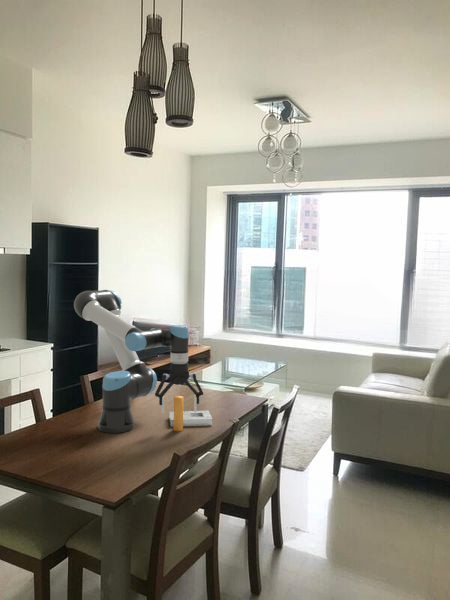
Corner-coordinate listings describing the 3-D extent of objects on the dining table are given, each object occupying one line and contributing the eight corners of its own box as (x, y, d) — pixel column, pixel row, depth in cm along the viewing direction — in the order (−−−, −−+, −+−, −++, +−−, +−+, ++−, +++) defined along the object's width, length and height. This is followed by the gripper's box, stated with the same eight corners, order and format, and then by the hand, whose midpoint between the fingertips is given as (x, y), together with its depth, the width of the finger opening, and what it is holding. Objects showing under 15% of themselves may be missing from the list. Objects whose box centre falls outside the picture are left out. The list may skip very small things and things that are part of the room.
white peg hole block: (170, 426, 206) (170, 419, 206) (169, 417, 218) (169, 411, 218) (212, 425, 209) (212, 418, 209) (208, 416, 221) (208, 410, 221)
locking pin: (173, 431, 200) (174, 398, 199) (173, 428, 204) (173, 396, 203) (183, 431, 201) (183, 398, 200) (182, 427, 205) (183, 395, 204)
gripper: (149, 364, 195) (149, 415, 196) (210, 363, 199) (209, 413, 200) (149, 361, 202) (149, 410, 204) (207, 360, 206) (207, 408, 208)
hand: (179, 412), depth 202 cm, fingers open, 13 cm apart
